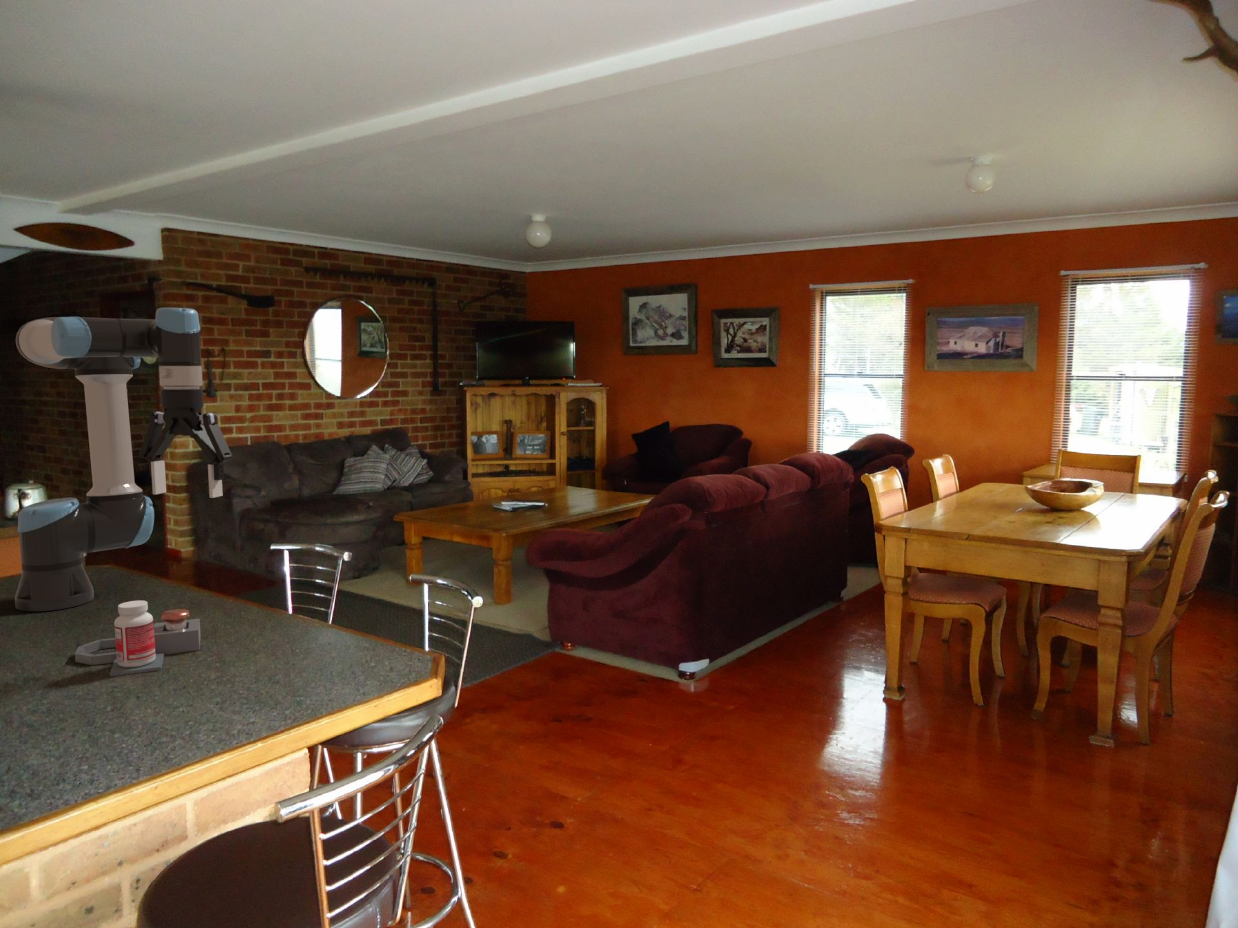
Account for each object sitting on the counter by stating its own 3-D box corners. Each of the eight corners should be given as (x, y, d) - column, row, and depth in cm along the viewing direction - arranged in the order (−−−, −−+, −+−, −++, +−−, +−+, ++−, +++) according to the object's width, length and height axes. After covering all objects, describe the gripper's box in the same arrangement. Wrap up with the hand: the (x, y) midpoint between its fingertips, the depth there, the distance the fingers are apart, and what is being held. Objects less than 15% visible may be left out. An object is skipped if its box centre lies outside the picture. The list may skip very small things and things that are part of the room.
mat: (115, 661, 160) (115, 658, 160) (164, 655, 163) (163, 652, 163) (109, 676, 153) (109, 673, 153) (161, 669, 156) (160, 666, 156)
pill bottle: (163, 657, 161) (159, 599, 159) (141, 669, 155) (137, 609, 153) (131, 656, 161) (128, 598, 160) (109, 667, 155) (105, 607, 154)
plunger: (164, 640, 170) (162, 610, 169) (191, 637, 172) (189, 607, 171) (162, 647, 165) (160, 617, 165) (190, 644, 167) (188, 614, 167)
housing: (81, 649, 167) (80, 629, 166) (200, 636, 175) (199, 616, 174) (72, 667, 157) (71, 646, 157) (199, 652, 166) (198, 631, 165)
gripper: (114, 387, 169) (121, 494, 172) (221, 389, 163) (226, 501, 165) (145, 386, 177) (151, 489, 179) (248, 388, 170) (253, 495, 172)
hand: (187, 495), depth 172 cm, fingers open, 13 cm apart
